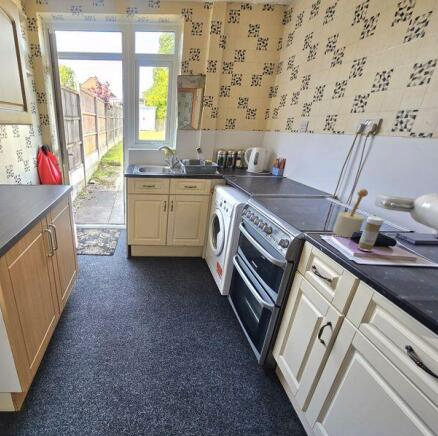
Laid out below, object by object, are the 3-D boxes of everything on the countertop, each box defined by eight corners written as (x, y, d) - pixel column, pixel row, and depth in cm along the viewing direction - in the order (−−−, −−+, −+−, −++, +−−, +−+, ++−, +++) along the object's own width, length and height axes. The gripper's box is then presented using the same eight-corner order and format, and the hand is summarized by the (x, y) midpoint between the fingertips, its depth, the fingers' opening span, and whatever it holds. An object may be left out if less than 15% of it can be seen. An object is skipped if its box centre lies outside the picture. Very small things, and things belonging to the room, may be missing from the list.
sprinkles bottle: (371, 250, 97) (384, 218, 92) (370, 253, 94) (383, 221, 89) (357, 246, 100) (368, 215, 95) (355, 249, 97) (367, 218, 92)
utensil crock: (353, 232, 113) (369, 186, 105) (361, 240, 105) (379, 191, 97) (330, 228, 116) (344, 184, 108) (336, 236, 108) (352, 188, 100)
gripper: (381, 214, 71) (365, 206, 83) (484, 228, 62) (449, 217, 74) (389, 193, 69) (371, 187, 81) (495, 204, 61) (458, 196, 73)
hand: (409, 201), depth 78 cm, fingers open, 8 cm apart
